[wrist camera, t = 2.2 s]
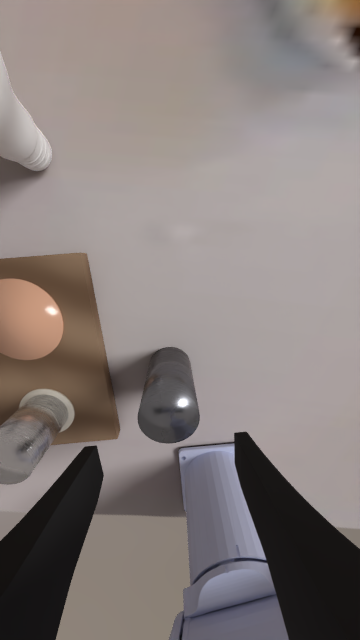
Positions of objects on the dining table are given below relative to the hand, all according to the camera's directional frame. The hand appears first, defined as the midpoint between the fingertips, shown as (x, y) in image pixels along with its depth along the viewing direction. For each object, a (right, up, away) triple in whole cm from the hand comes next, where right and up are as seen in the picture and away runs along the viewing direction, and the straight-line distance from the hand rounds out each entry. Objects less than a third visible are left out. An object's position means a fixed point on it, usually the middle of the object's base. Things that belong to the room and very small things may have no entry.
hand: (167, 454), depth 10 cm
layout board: (-12, +3, +8) cm, 15 cm away
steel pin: (0, +2, +9) cm, 10 cm away
